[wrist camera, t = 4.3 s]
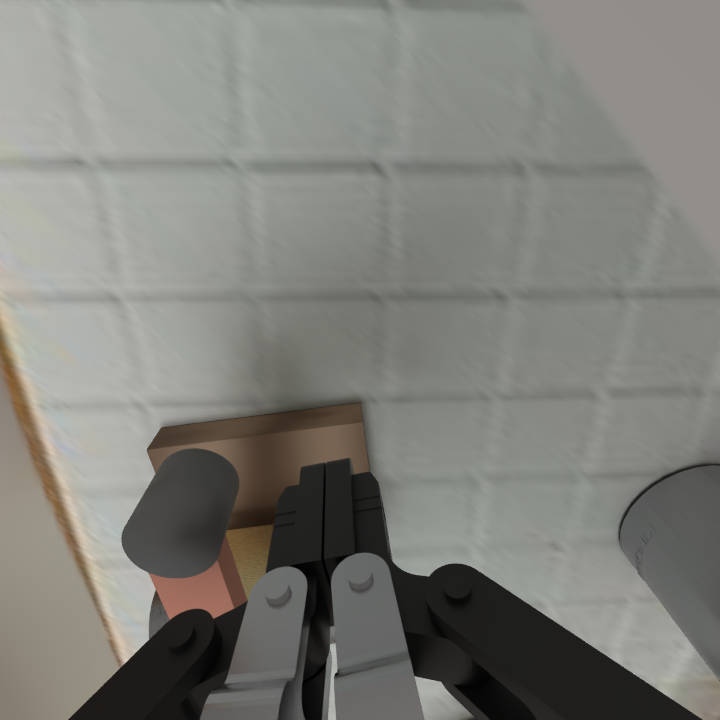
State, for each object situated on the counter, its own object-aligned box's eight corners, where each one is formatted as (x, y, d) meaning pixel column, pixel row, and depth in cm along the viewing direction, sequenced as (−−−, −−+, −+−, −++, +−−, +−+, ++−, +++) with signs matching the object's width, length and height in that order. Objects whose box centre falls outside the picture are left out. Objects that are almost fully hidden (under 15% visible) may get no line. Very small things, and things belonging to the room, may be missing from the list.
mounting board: (360, 402, 24) (362, 422, 22) (383, 580, 29) (387, 607, 27) (161, 428, 23) (146, 449, 22) (223, 600, 29) (216, 629, 27)
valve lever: (232, 443, 14) (209, 505, 11) (300, 683, 19) (295, 762, 16) (143, 454, 14) (100, 519, 11) (236, 691, 19) (221, 772, 16)
